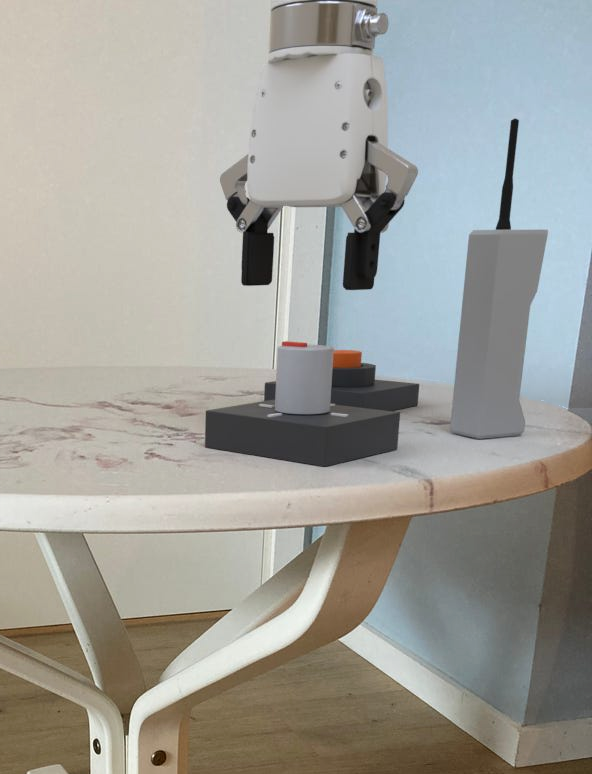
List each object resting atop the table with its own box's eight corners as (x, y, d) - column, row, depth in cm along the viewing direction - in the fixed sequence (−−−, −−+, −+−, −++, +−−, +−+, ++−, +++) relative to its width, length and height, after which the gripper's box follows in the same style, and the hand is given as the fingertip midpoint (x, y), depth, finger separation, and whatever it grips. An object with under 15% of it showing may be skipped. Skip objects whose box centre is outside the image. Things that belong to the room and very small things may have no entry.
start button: (367, 369, 112) (368, 351, 112) (347, 372, 110) (348, 354, 109) (337, 366, 115) (339, 349, 114) (317, 369, 112) (318, 351, 112)
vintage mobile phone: (524, 435, 95) (562, 117, 87) (477, 439, 94) (512, 114, 85) (494, 429, 99) (528, 121, 90) (449, 433, 97) (479, 119, 88)
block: (417, 405, 113) (421, 365, 111) (362, 416, 106) (365, 374, 105) (320, 394, 121) (323, 357, 119) (263, 404, 114) (265, 364, 113)
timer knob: (340, 410, 89) (345, 342, 87) (308, 416, 86) (312, 346, 84) (296, 405, 92) (299, 339, 90) (263, 410, 89) (266, 343, 87)
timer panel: (397, 449, 89) (400, 410, 88) (325, 466, 83) (327, 424, 82) (279, 432, 98) (280, 396, 96) (204, 447, 91) (205, 408, 90)
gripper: (455, 32, 77) (429, 290, 83) (259, 58, 88) (249, 282, 94) (396, 17, 72) (373, 292, 78) (197, 47, 83) (190, 284, 89)
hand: (305, 287), depth 86 cm, fingers open, 9 cm apart
